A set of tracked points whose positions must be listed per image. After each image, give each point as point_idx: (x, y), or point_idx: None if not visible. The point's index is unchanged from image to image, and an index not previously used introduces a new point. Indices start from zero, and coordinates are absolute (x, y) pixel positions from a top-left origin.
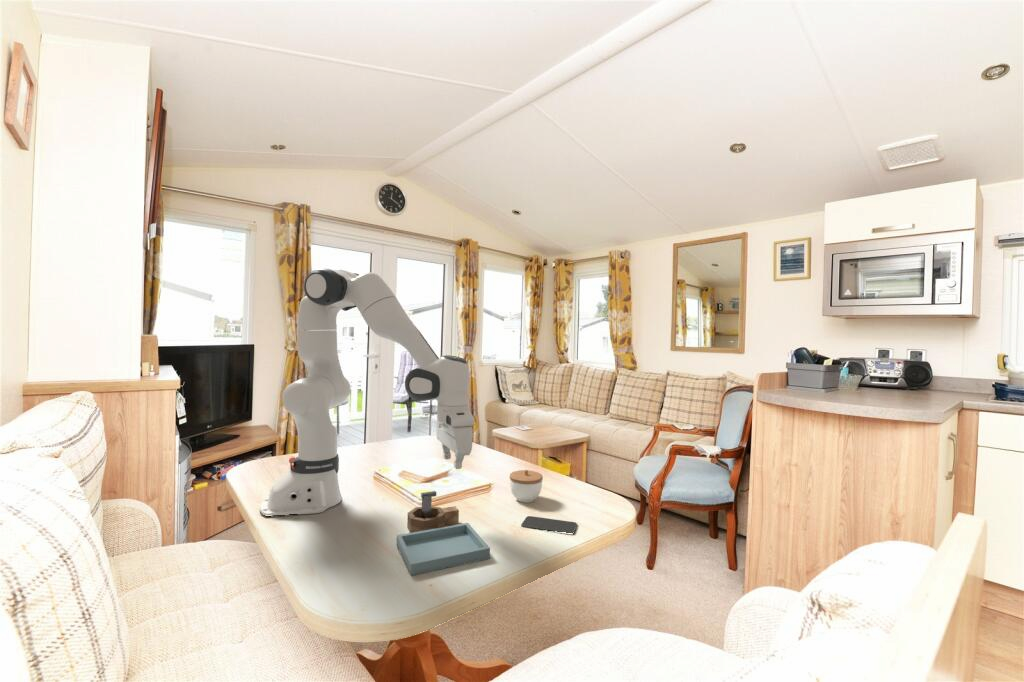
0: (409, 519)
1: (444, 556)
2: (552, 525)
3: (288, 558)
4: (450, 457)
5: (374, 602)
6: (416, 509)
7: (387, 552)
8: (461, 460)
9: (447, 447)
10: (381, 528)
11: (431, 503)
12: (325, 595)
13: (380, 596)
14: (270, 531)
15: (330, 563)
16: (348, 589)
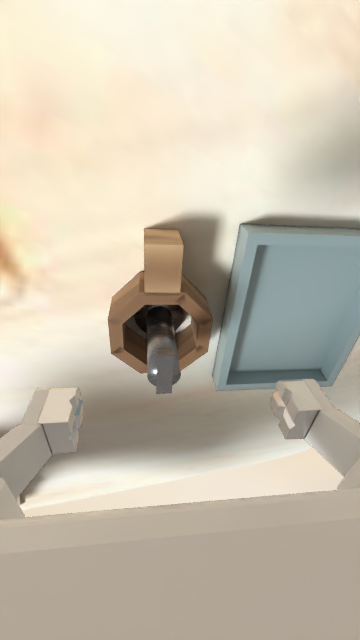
0: None
1: (354, 337)
2: None
3: (175, 474)
4: (75, 392)
5: None
6: (126, 353)
7: None
8: (354, 428)
9: (9, 474)
10: (125, 387)
11: (166, 343)
12: (287, 445)
13: (335, 405)
14: (78, 494)
15: (216, 444)
16: None
